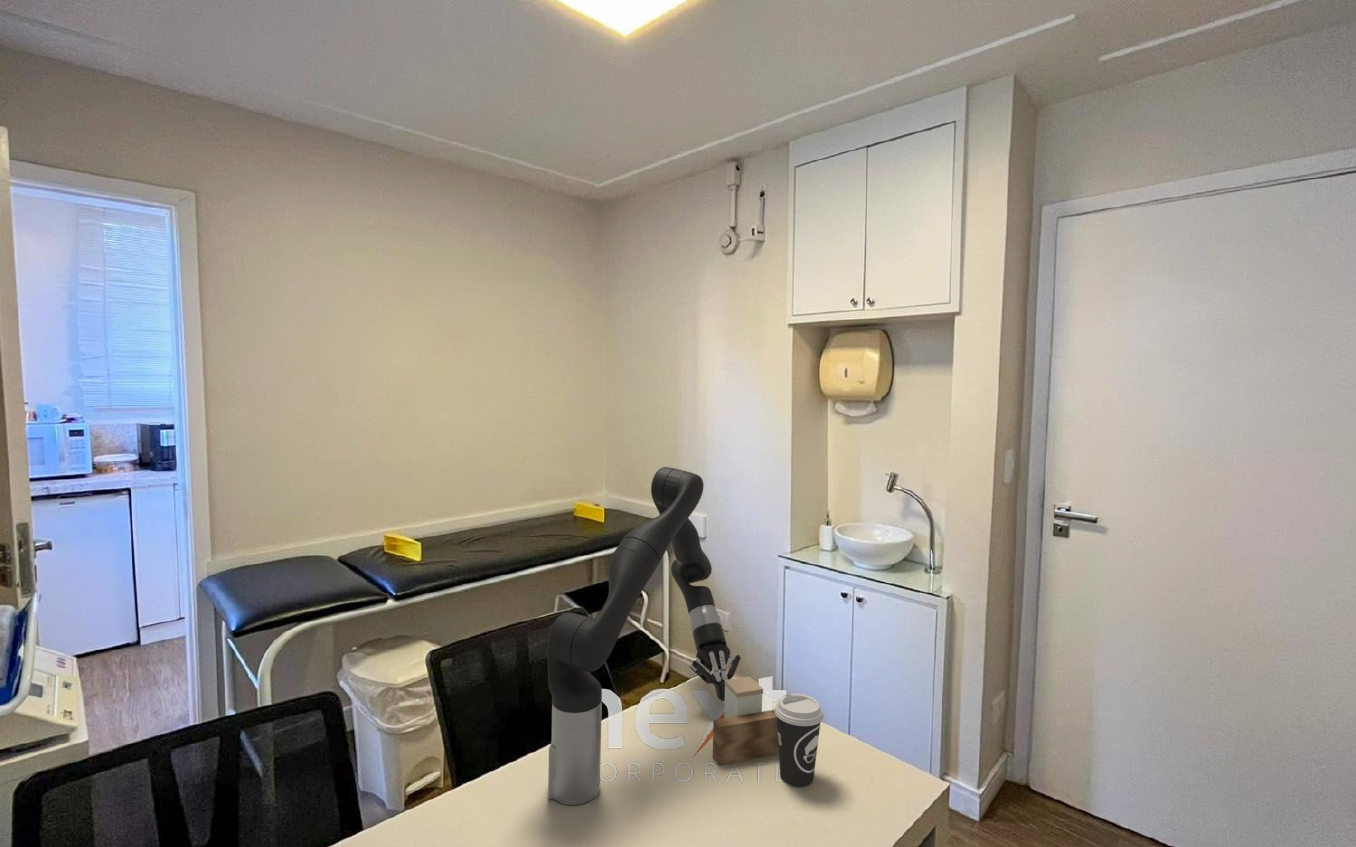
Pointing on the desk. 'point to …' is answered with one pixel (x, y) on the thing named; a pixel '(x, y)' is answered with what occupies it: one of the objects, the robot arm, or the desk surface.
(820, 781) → the desk surface
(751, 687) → the canister
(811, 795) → the desk surface
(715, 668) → the robot arm
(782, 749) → the coffee cup
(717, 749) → the board
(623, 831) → the desk surface
